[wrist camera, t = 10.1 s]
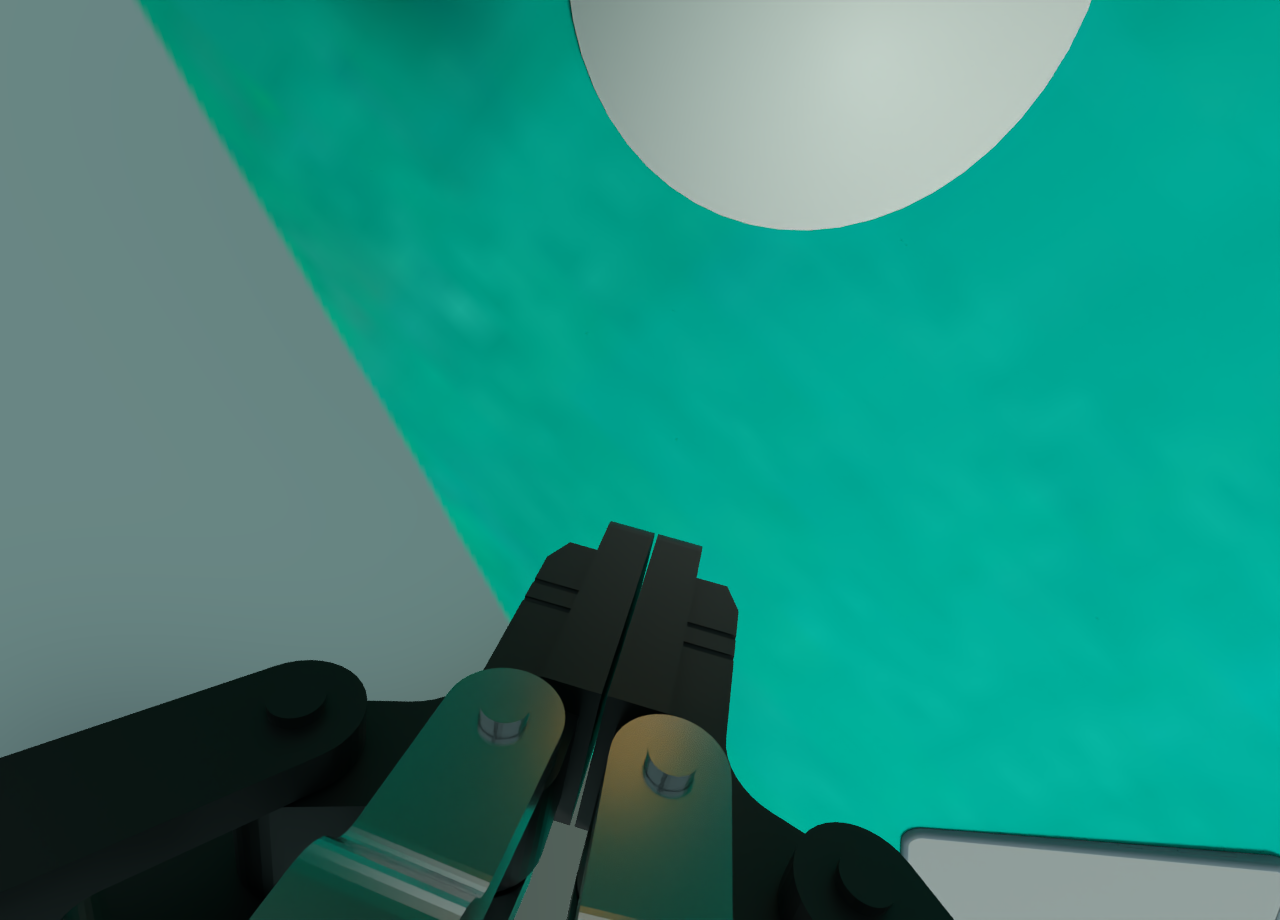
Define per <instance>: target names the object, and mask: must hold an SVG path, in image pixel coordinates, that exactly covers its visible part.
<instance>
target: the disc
mask: <svg viewBox="0 0 1280 920" xmlns="http://www.w3.org/2000/svg"><path fill="white" fill-rule="evenodd" d="M570 2H571V9H572V16H573V22H574V26H575V30H576V34H577V38H578V42H579V46H580V50H581V54H582V57H583V60H584V62H585V65H586V68H587V70H588V73H589V76H590V78H591V81H592V84H593V86H594V89H595V91H596V93H597V95H598V96H599V98H600V100H601V102H602V104H603V106H604V108H605V110H606V112H607V114H608V116H609V118H610V119H611V121H612V122H613V124H614V125H615V127H616V128H617V129H618V131H619V132H620V134H621V135H622V137H623V138H624V140H625V141H626V143H627V144H628V145H629V146H630V147H631V149H632V150H633V151H634V152H635V153H636V154H637V155H638V157H639V158H640V159H641V160H642V161H643V162H644V163H645V164H646V166H647V167H648V168H650V169H651V170H652V171H653V172H654V173H655V174H656V175H658V176H659V177H660V178H661V179H662V180H663V181H664V182H666V183H667V184H668V185H669V186H670V187H672V188H673V189H675V190H676V191H678V192H679V193H681V194H682V195H684V196H685V197H687V198H688V199H690V200H691V201H693V202H694V203H696V204H698V205H701V206H703V207H705V208H707V209H709V210H711V211H713V212H715V213H717V214H719V215H722V216H725V217H728V218H731V219H734V220H737V221H741V222H744V223H747V224H750V225H756V226H762V227H768V228H774V229H784V230H817V229H826V228H836V227H843V226H847V225H851V224H855V223H860V222H864V221H868V220H872V219H875V218H878V217H880V216H883V215H886V214H888V213H891V212H894V211H896V210H899V209H902V208H904V207H906V206H908V205H910V204H912V203H914V202H916V201H918V200H920V199H922V198H924V197H926V196H927V195H929V194H931V193H933V192H935V191H936V190H938V189H939V188H941V187H942V186H944V185H945V184H947V183H948V182H950V181H951V180H953V179H954V178H956V177H957V176H959V175H960V174H962V173H963V172H965V171H966V170H967V169H968V168H969V167H971V166H972V165H973V164H974V163H975V162H977V161H978V160H979V159H980V158H981V157H983V156H984V155H985V154H986V153H987V152H989V151H990V150H991V149H992V148H993V147H994V146H995V145H996V144H997V143H998V142H999V141H1000V140H1001V139H1002V138H1003V137H1004V136H1005V135H1006V134H1007V133H1008V132H1009V131H1010V130H1011V128H1012V127H1013V126H1014V125H1015V124H1016V123H1017V122H1018V121H1019V120H1020V119H1021V118H1022V117H1023V115H1024V114H1025V113H1026V111H1027V110H1028V109H1029V107H1030V106H1031V105H1032V104H1033V102H1034V101H1035V100H1036V98H1037V97H1038V96H1039V95H1040V93H1041V92H1042V91H1043V89H1044V88H1045V87H1046V85H1047V84H1048V82H1049V80H1050V79H1051V77H1052V76H1053V74H1054V72H1055V71H1056V69H1057V68H1058V66H1059V64H1060V63H1061V61H1062V59H1063V58H1064V56H1065V55H1066V53H1067V51H1068V50H1069V48H1070V46H1071V44H1072V41H1073V39H1074V37H1075V35H1076V33H1077V31H1078V29H1079V27H1080V25H1081V23H1082V21H1083V19H1084V17H1085V15H1086V13H1087V11H1088V8H1089V5H1090V2H1091V0H570Z"/></svg>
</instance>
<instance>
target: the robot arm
mask: <svg viewBox="0 0 1280 920" xmlns="http://www.w3.org/2000/svg"><path fill="white" fill-rule="evenodd" d="M654 534H655V533H652V532H648V531H644V530H641V529H637V528H634V527H630V526H627V525H623V524H619V523H616V522H612V521H611V522H610V523H609V525H608V528H607V530H606V532H605V534H604V537H603V539H602V541H601V543H600V545H599V548H598V550H595V549H592V548H588V547H585V546H581V545H578V544H574V543H571V542H570V543H568V544H567V545H565V546H563V547H562V548H560V549H559V550H557V551H556V552H554V553H552V554H551V555H549V556H548V557H547V558H546V560H545V562H544V563H543V565H542V567H541V569H540V570H539V572H538V574H537V576H536V578H535V581H534V582H533V583H532V585H531V586H530V588H529V590H528V592H527V594H526V595H525V599H524V600H523V601H522V602H521V604H520V606H519V608H518V610H517V611H516V613H515V615H514V617H513V619H512V620H511V622H510V624H509V626H508V627H507V629H506V631H505V633H504V635H503V637H502V638H501V640H500V642H499V644H498V645H497V647H496V649H495V651H494V652H493V654H492V656H491V658H490V659H489V661H488V663H487V665H486V667H485V668H484V670H483V671H479V672H477V673H474V674H471V675H469V676H467V677H466V678H464V679H462V680H461V681H460V682H458V683H457V684H456V685H455V686H454V687H453V688H452V689H451V690H450V691H449V693H448V694H447V695H446V696H445V697H442V698H438V699H435V700H427V701H415V702H401V701H400V702H398V701H367V696H366V690H365V688H364V686H363V684H362V682H361V681H360V680H359V678H358V677H357V676H356V675H355V674H353V673H352V672H351V671H349V670H348V669H346V668H344V667H342V666H339V665H337V664H334V663H330V662H324V661H316V660H305V661H295V662H288V663H284V664H281V665H277V666H274V667H271V668H268V669H265V670H262V671H259V672H256V673H253V674H250V675H247V676H244V677H241V678H238V679H235V680H232V681H229V682H226V683H223V684H220V685H217V686H214V687H211V688H208V689H205V690H202V691H199V692H196V693H193V694H190V695H187V696H184V697H181V698H178V699H175V700H172V701H169V702H166V703H163V704H160V705H157V706H154V707H151V708H148V709H145V710H142V711H139V712H136V713H133V714H130V715H127V716H124V717H122V718H119V719H115V720H112V721H110V722H106V723H103V724H100V725H98V726H94V727H92V728H88V729H85V730H83V731H79V732H77V733H74V734H70V735H67V736H64V737H61V738H59V739H56V740H52V741H49V742H46V743H44V744H40V745H38V746H34V747H31V748H29V749H26V750H23V751H20V752H17V753H14V754H11V755H8V756H5V757H2V758H0V920H514V918H515V916H516V914H517V911H518V909H519V907H520V904H521V902H522V900H523V897H524V895H525V892H526V890H527V888H528V885H529V883H530V880H531V877H532V874H533V869H534V868H535V866H536V865H537V864H538V862H539V859H540V857H541V855H542V852H543V849H544V846H545V843H546V840H547V837H548V834H549V831H550V828H551V825H552V823H553V820H554V821H557V822H561V823H564V824H567V825H570V823H571V819H572V816H573V813H574V810H575V807H576V804H577V800H578V797H579V794H580V791H581V787H582V784H583V781H584V778H585V775H586V771H587V768H588V765H589V762H590V759H591V755H592V752H593V755H592V759H591V763H590V768H589V772H588V776H587V780H586V784H585V788H584V792H583V796H582V800H581V804H580V808H579V812H578V816H577V820H576V824H575V827H578V828H581V829H584V830H587V831H588V833H587V837H586V841H585V845H584V849H583V853H582V856H581V860H580V864H579V869H578V872H577V876H576V879H575V884H574V887H573V891H572V895H571V899H570V904H569V910H568V914H567V919H566V920H954V919H953V917H952V916H951V915H950V914H949V912H948V911H947V910H946V909H945V907H944V906H943V905H942V904H941V902H940V901H939V900H938V899H937V897H936V896H935V895H934V894H933V892H932V891H931V890H930V889H929V887H928V886H927V885H926V884H925V882H924V881H923V880H922V879H921V877H920V876H919V875H918V874H917V872H916V871H915V870H914V869H913V867H912V866H911V865H910V864H909V862H908V861H907V860H906V859H905V858H904V857H903V856H902V855H901V854H900V853H899V852H898V851H897V850H896V849H895V848H894V847H893V846H892V845H890V844H889V843H888V842H886V841H885V840H884V839H882V838H881V837H879V836H877V835H876V834H874V833H872V832H870V831H868V830H866V829H864V828H861V827H859V826H855V825H851V824H848V823H839V822H832V823H824V824H821V825H817V826H815V827H814V828H812V829H810V830H809V831H808V832H807V833H803V832H801V831H800V830H798V829H797V828H795V827H793V826H792V825H790V824H789V823H787V822H786V821H784V820H782V819H781V818H779V817H778V816H776V815H775V814H773V813H771V812H770V811H769V810H767V809H766V808H764V807H763V806H762V805H760V804H759V803H758V802H757V801H756V800H755V799H754V798H753V797H751V796H750V794H749V793H748V792H747V791H746V790H745V789H744V788H743V786H742V785H741V783H740V782H739V781H738V779H737V778H736V776H735V774H734V772H733V770H732V768H731V766H730V763H729V760H728V757H727V751H726V734H727V724H728V713H729V703H730V693H731V682H732V672H733V662H734V661H733V658H734V652H735V641H736V640H735V637H736V631H737V621H738V609H737V607H736V605H735V603H734V600H733V598H732V596H731V594H730V592H729V589H728V587H727V586H723V585H720V584H716V583H713V582H709V581H706V580H702V579H699V578H696V577H697V572H698V567H699V562H700V557H701V552H702V546H699V545H695V544H692V543H688V542H685V541H681V540H677V539H674V538H670V537H667V536H663V535H659V534H658V537H657V540H656V543H655V546H654V550H653V553H652V556H651V559H650V562H649V565H648V569H647V572H646V575H645V571H646V567H647V563H648V559H649V555H650V551H651V547H652V543H653V539H654ZM644 575H645V578H644ZM643 579H644V581H643ZM642 583H643V584H642ZM641 587H642V588H641ZM595 742H596V743H595ZM594 746H595V747H594ZM593 749H594V751H593Z"/></svg>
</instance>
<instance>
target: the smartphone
mask: <svg viewBox="0 0 1280 920" xmlns="http://www.w3.org/2000/svg"><path fill="white" fill-rule="evenodd" d="M901 855H902V856H903V857H904V858H905V859H906V860H907V861H908V862H909V864H910V865H911V866H912V867H913V869H914V870H915V871H916V872H917V874H918V875H919V876H920V877H921V879H922V880H923V881H924V882H925V884H926V885H927V886H928V887H929V889H930V890H931V891H932V892H933V894H934V895H935V896H936V897H937V899H938V900H939V901H940V902H941V904H942V905H943V906H944V907H945V909H946V910H947V911H948V912H949V914H950V915H951V916H952V917H953V919H954V920H1280V858H1279V857H1276V856H1272V855H1262V854H1250V853H1237V852H1225V851H1212V850H1199V849H1187V848H1174V847H1161V846H1149V845H1136V844H1122V843H1110V842H1097V841H1084V840H1071V839H1058V838H1045V837H1032V836H1019V835H1006V834H993V833H980V832H967V831H954V830H941V829H928V828H916V829H912V830H909V831H907V832H906V833H905V834H904V835H903V836H902V839H901Z"/></svg>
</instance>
